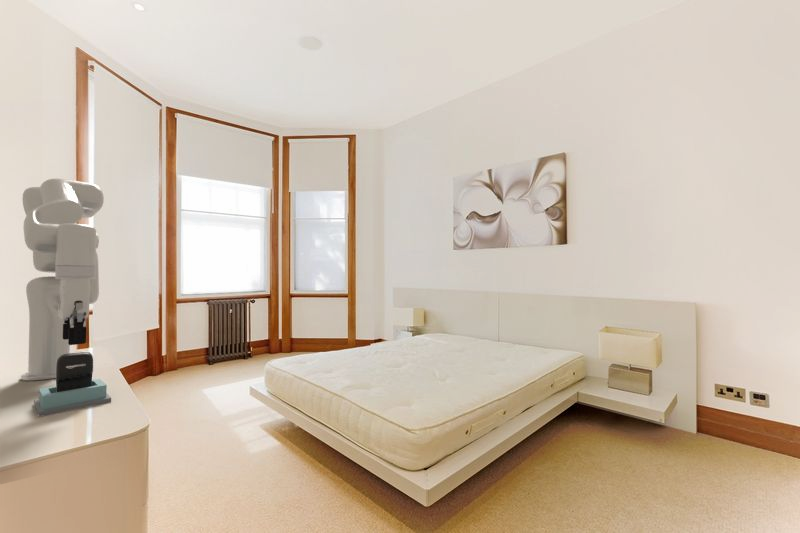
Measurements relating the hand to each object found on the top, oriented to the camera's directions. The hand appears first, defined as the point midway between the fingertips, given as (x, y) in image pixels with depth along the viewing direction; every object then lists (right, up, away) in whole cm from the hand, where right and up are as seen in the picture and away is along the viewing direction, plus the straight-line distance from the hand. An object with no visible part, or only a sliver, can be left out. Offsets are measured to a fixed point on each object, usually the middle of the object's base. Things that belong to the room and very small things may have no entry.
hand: (74, 341), depth 92 cm
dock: (0, -15, -1) cm, 15 cm away
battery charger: (+1, -14, -1) cm, 14 cm away
